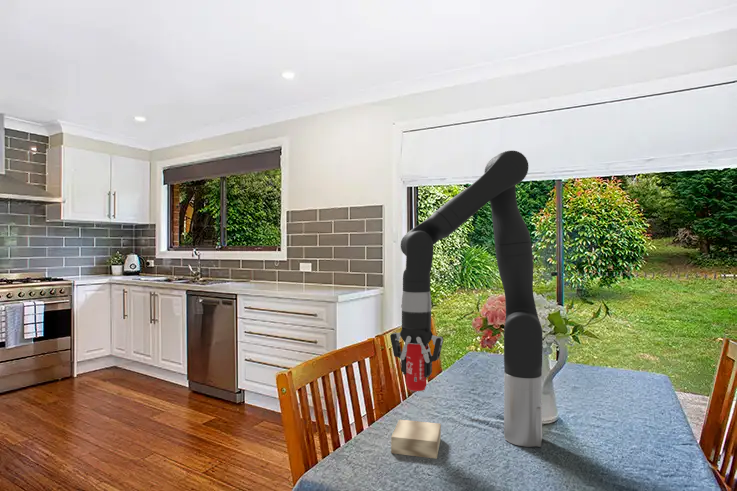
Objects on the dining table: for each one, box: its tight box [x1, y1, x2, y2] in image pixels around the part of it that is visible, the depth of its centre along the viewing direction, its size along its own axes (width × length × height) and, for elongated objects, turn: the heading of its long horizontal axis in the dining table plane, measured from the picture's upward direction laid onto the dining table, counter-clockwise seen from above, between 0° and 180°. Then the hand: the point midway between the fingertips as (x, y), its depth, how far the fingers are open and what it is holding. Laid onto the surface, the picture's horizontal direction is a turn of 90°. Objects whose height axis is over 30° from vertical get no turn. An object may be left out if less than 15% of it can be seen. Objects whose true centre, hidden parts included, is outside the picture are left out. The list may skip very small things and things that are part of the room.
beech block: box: [390, 419, 442, 460], centre depth 111 cm, size 11×11×4 cm
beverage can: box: [405, 342, 428, 392], centre depth 113 cm, size 5×5×12 cm
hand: (416, 375), depth 112 cm, fingers closed on beverage can, 5 cm apart
